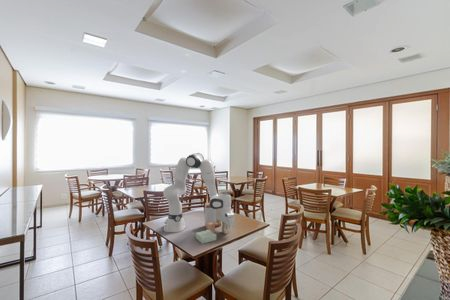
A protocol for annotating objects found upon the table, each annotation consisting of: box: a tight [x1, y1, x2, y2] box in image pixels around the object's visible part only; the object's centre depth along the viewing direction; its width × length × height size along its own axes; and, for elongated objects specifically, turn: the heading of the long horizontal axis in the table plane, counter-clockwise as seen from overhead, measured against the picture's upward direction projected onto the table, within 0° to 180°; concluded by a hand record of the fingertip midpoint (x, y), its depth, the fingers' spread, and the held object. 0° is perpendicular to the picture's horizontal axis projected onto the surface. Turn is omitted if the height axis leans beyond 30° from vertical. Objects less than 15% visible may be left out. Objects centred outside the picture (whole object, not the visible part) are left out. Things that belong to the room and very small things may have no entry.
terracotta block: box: [206, 222, 216, 233], centre depth 182 cm, size 5×5×7 cm
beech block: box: [221, 222, 231, 235], centre depth 181 cm, size 5×5×8 cm
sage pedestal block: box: [195, 229, 217, 244], centre depth 168 cm, size 12×12×4 cm
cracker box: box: [204, 202, 222, 228], centre depth 196 cm, size 14×6×21 cm, turn 110°
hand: (225, 228), depth 181 cm, fingers closed on beech block, 5 cm apart
